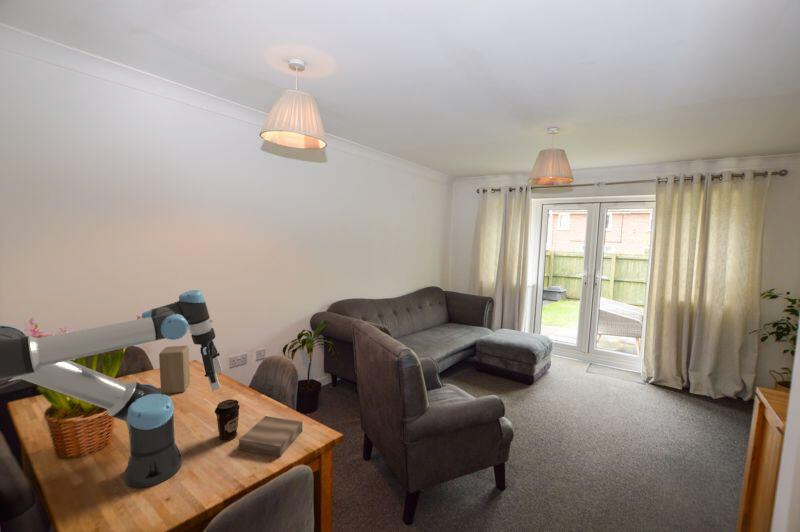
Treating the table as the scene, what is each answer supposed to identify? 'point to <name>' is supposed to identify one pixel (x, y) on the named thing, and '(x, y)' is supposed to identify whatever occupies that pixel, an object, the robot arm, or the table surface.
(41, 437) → the table surface
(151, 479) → the robot arm
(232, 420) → the coffee cup
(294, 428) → the block
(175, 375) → the block
